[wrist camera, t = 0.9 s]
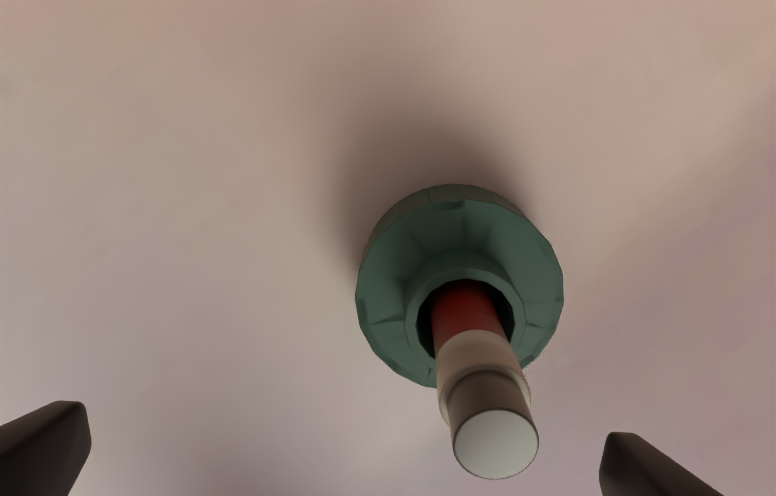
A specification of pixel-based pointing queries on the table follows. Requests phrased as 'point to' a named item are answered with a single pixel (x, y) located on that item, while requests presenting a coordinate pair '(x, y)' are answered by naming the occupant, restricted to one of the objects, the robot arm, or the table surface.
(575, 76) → the table surface
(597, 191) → the table surface
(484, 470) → the capped glue stick
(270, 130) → the table surface
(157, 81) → the table surface
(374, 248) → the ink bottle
